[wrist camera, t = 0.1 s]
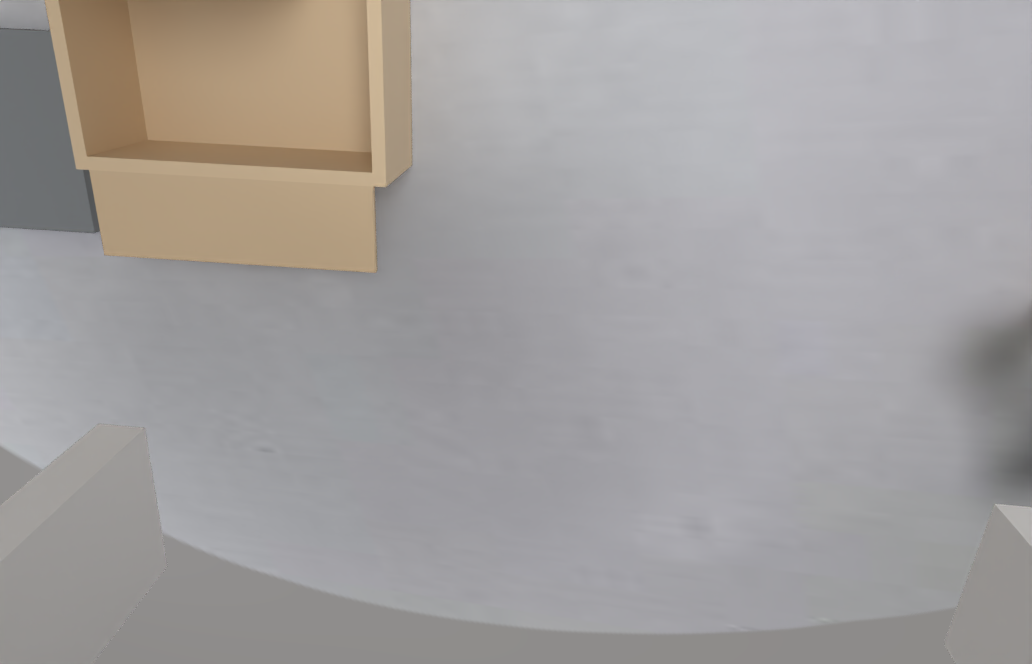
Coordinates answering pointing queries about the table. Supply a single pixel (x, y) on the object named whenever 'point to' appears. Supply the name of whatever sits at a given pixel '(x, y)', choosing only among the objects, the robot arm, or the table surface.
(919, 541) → the table surface
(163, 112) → the carton
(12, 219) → the panel
